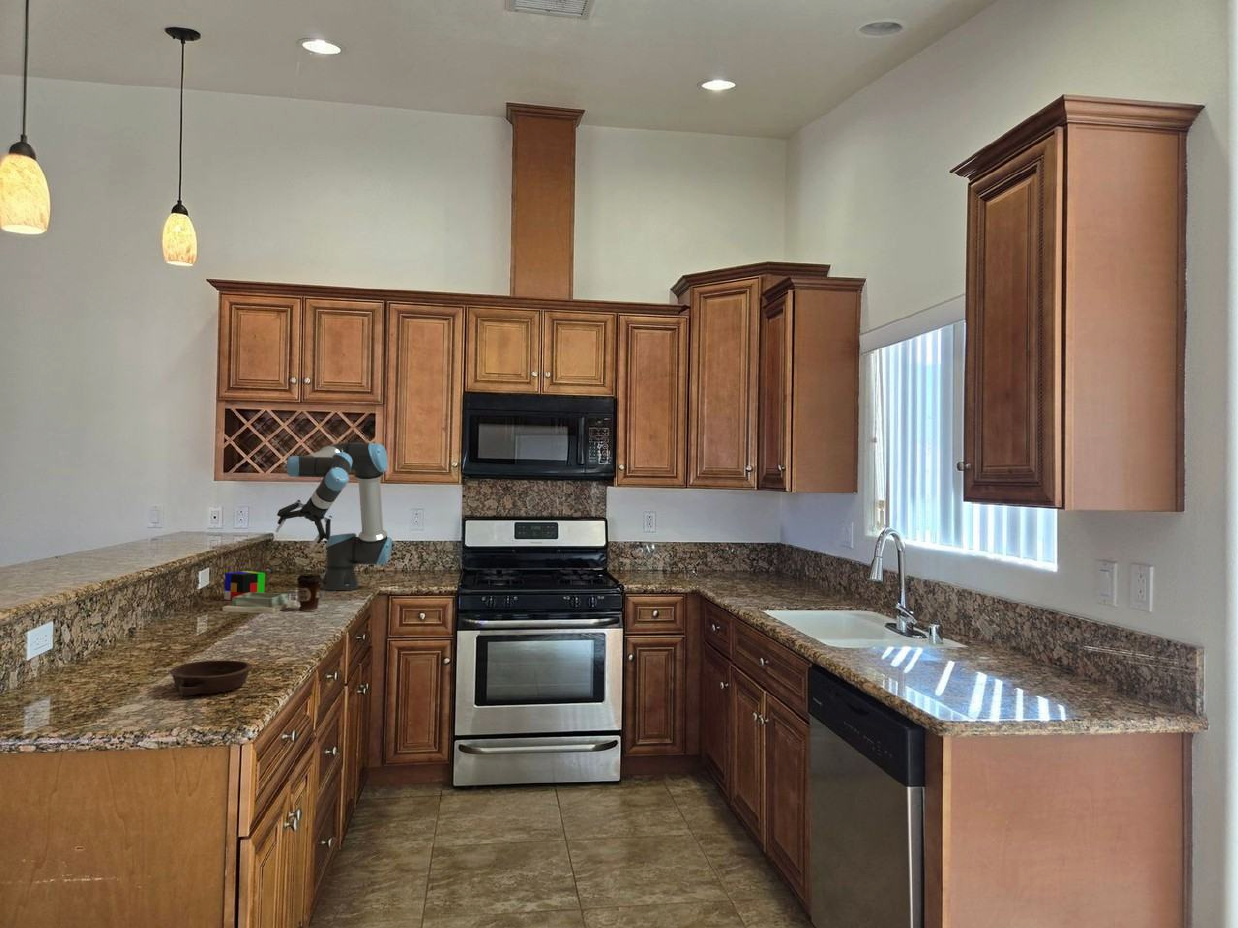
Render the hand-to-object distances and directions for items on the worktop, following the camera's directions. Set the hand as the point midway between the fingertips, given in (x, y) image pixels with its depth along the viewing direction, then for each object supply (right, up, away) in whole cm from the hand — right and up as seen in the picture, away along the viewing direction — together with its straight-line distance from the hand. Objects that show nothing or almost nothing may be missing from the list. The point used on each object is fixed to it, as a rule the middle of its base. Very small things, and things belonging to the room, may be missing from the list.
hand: (294, 538), depth 326 cm
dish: (+24, -25, -120) cm, 125 cm away
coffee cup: (+8, -25, -9) cm, 28 cm away
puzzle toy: (-24, -25, +12) cm, 37 cm away
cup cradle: (-10, -25, -7) cm, 28 cm away
